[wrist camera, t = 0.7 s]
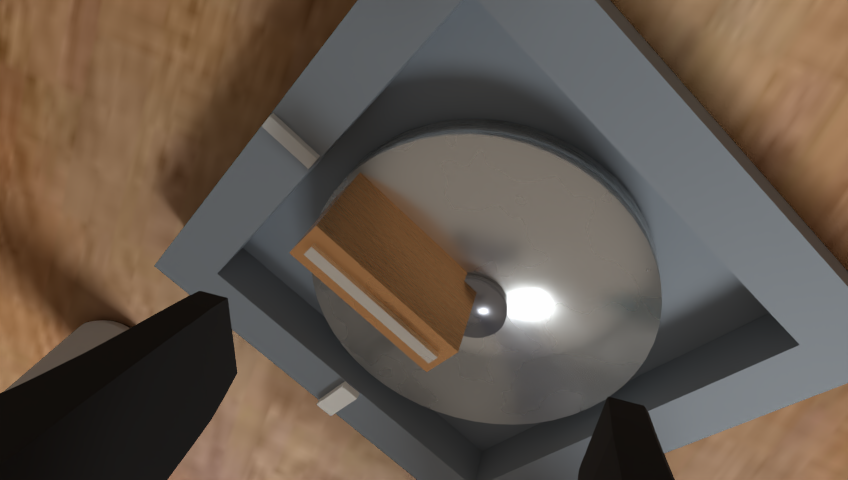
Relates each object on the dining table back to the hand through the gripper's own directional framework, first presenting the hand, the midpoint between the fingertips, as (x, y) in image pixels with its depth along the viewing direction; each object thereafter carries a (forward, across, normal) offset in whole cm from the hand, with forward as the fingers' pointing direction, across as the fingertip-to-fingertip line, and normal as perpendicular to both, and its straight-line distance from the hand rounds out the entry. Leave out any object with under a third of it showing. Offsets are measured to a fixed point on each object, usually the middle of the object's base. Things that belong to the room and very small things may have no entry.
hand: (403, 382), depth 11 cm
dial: (+10, 0, +4) cm, 11 cm away
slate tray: (+10, 0, +4) cm, 11 cm away
